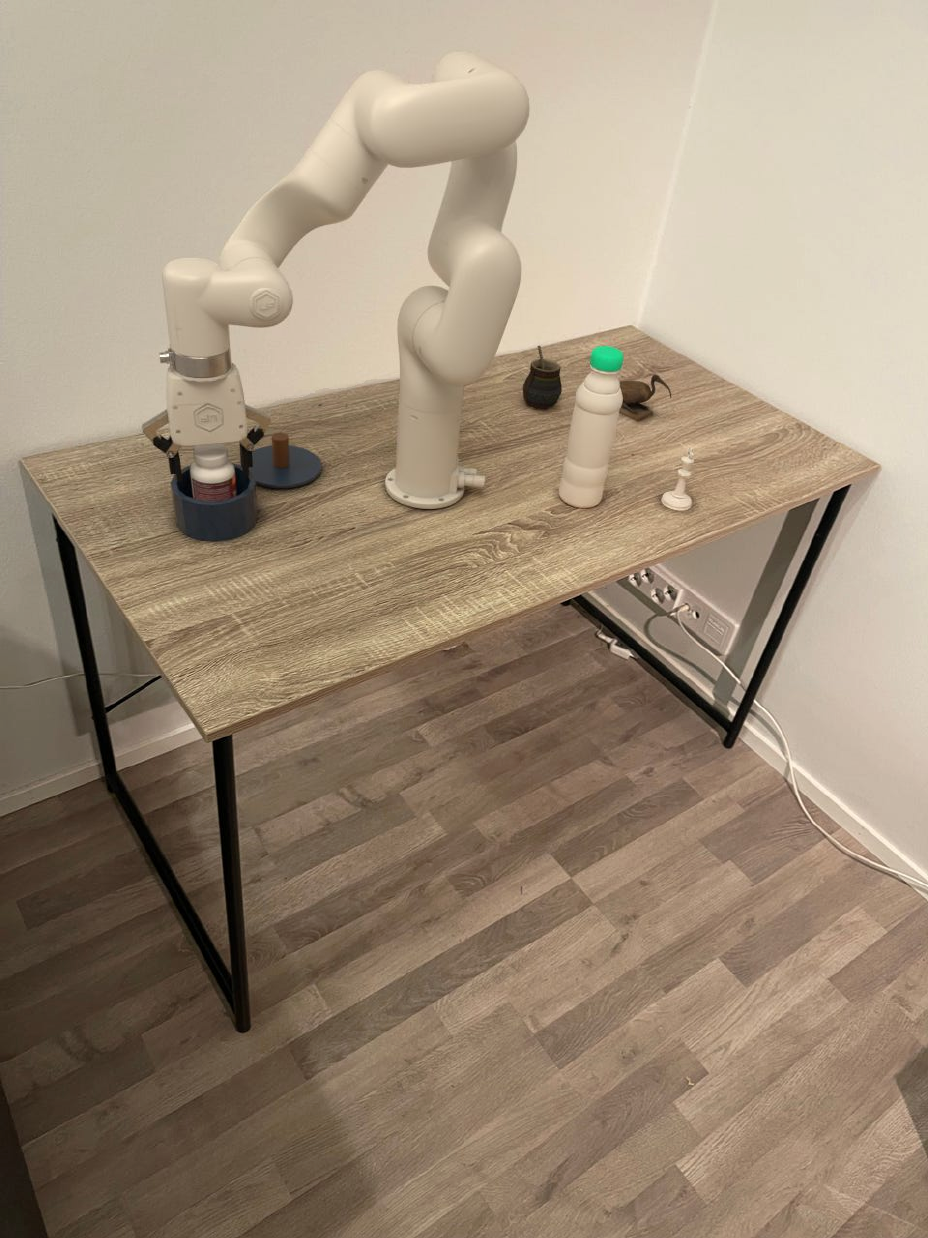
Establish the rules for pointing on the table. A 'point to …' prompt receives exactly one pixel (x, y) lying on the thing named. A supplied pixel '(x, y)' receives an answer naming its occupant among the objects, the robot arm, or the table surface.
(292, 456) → the lid
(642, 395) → the figurine
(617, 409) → the water bottle
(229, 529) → the tin
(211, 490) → the pill bottle
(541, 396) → the mate gourd
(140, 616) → the table surface
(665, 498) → the chess piece
